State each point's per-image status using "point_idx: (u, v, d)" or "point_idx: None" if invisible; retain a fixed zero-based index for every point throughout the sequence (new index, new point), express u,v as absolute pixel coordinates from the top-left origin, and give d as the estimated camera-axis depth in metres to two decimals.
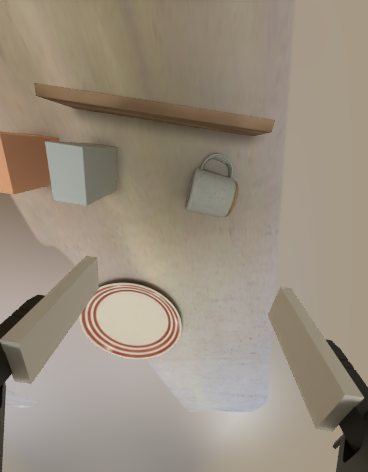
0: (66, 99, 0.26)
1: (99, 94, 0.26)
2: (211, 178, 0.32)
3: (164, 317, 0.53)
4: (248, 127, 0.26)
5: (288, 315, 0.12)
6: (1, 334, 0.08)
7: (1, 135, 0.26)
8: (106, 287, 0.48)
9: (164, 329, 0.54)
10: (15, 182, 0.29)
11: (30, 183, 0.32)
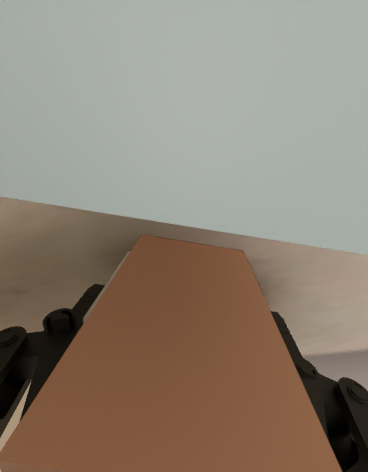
0: None
1: None
2: None
3: None
4: None
5: None
6: (77, 315, 0.10)
7: (8, 448, 0.04)
8: None
9: None
10: (275, 455, 0.05)
11: (265, 355, 0.07)
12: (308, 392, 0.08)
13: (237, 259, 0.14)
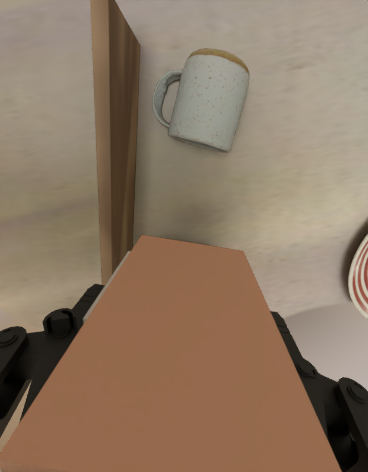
0: None
1: (101, 252, 0.24)
2: (178, 106, 0.20)
3: None
4: (107, 43, 0.16)
5: None
6: (77, 315, 0.10)
7: (9, 448, 0.04)
8: (353, 284, 0.32)
9: None
10: (275, 455, 0.05)
11: (265, 355, 0.07)
12: (308, 392, 0.08)
13: (237, 259, 0.14)
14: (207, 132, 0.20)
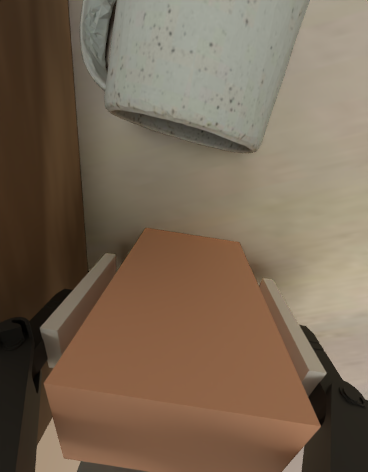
0: None
1: None
2: (117, 16, 0.07)
3: None
4: None
5: (268, 304, 0.13)
6: (37, 323, 0.09)
7: (52, 376, 0.06)
8: None
9: None
10: (257, 388, 0.06)
11: (254, 322, 0.09)
12: (354, 420, 0.07)
13: (233, 249, 0.15)
14: (202, 90, 0.06)
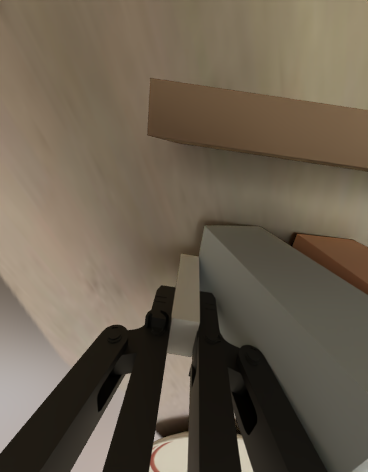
0: (282, 151, 0.06)
1: None
2: None
3: None
4: None
5: None
6: None
7: None
8: (185, 438, 0.27)
9: None
10: None
11: None
12: (215, 357, 0.08)
13: None
14: None
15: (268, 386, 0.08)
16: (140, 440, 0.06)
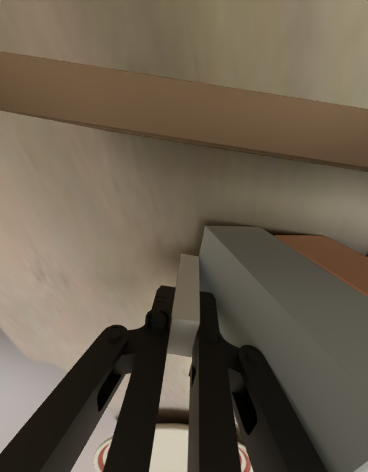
0: (102, 121, 0.06)
1: (263, 100, 0.05)
2: None
3: None
4: None
5: None
6: None
7: None
8: None
9: None
10: None
11: None
12: (214, 357, 0.08)
13: None
14: None
15: (268, 386, 0.08)
16: (140, 440, 0.06)
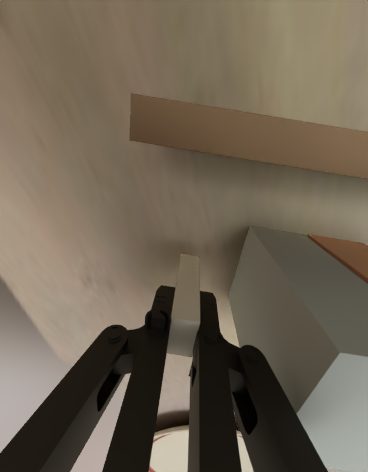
0: (243, 155, 0.07)
1: None
2: None
3: None
4: None
5: None
6: None
7: None
8: (176, 432, 0.28)
9: (250, 470, 0.35)
10: None
11: None
12: (215, 357, 0.08)
13: None
14: None
15: (268, 386, 0.08)
16: (139, 440, 0.06)
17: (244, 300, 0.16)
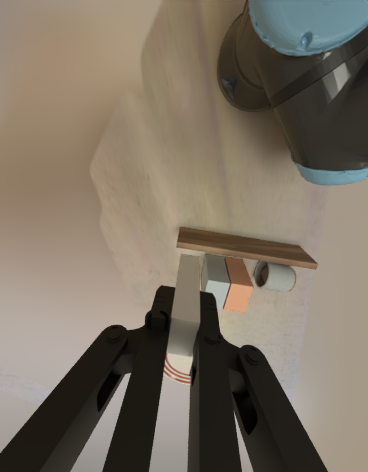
0: (194, 249, 0.44)
1: (215, 248, 0.44)
2: (279, 271, 0.49)
3: None
4: (302, 266, 0.44)
5: None
6: None
7: None
8: None
9: None
10: None
11: None
12: (215, 357, 0.08)
13: None
14: (269, 284, 0.48)
15: (268, 386, 0.08)
16: (139, 440, 0.06)
17: (203, 276, 0.53)
